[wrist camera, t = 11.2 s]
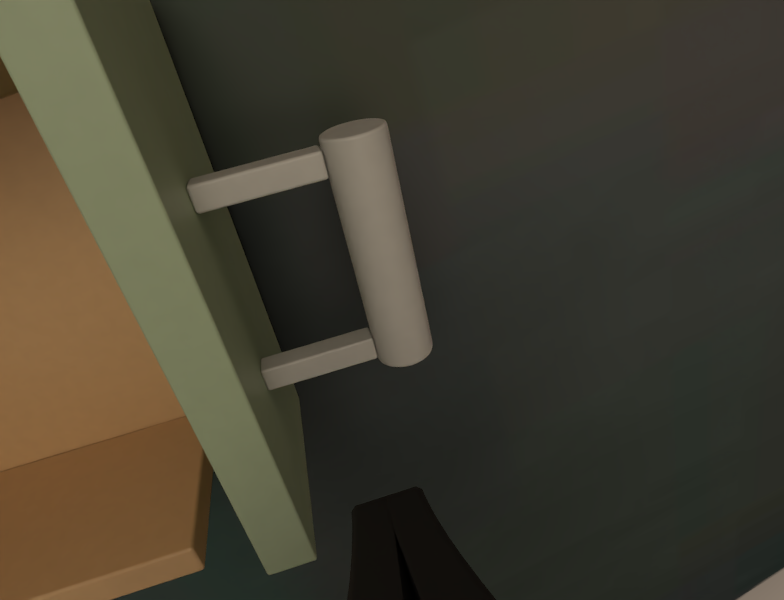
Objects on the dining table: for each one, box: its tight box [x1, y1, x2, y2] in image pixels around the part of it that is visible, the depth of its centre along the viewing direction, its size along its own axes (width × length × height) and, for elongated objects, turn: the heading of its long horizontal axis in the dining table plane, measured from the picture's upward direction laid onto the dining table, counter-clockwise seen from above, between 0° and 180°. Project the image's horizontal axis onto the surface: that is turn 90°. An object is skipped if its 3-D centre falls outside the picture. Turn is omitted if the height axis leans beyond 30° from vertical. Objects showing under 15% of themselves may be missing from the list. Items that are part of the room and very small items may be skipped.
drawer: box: [0, 0, 433, 600], centre depth 12 cm, size 19×12×6 cm, turn 102°
